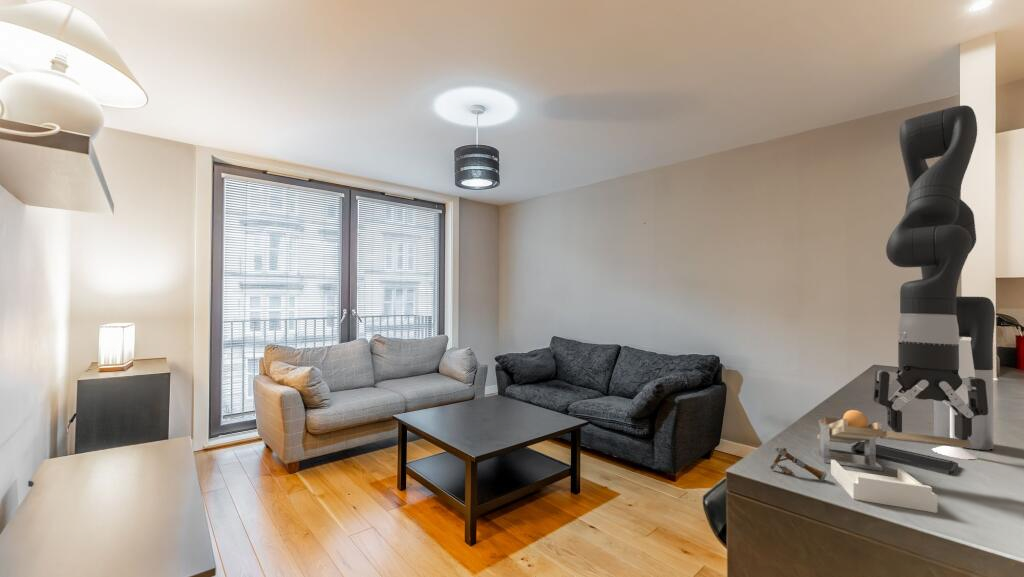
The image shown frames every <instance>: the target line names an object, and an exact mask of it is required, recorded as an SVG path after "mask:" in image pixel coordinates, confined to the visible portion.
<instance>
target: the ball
mask: <svg viewBox="0 0 1024 577" xmlns="http://www.w3.org/2000/svg"><path fill="white" fill-rule="evenodd" d="M842 419H847V422H848V426H853V427H862V428H865V427H866V426H867V425H868V418H867V416H866V414H864V413H863V412H861V411H859V410H856V409H850V410H847V411H846V412H845V413H844V414H843V417H842Z"/></svg>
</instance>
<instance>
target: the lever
mask: <svg viewBox="0 0 1024 577" xmlns="http://www.w3.org/2000/svg"><path fill="white" fill-rule="evenodd" d="M820 423H826V424H827V425H828V426H830V440H829V442H833V443H839V444H840V443H841V444H848V445H851V444H856V443H858V442H865V440H868V439H872V438H879V437H880V439H884V440H892V441H902V442H909V443H917V444H925V445H926V444H927V445H934V446H950V447H959V448H963V449H964V448H965V447H970V446H971V444H970V440H961V439H956V438H947V437H938V436H934V435H927V434H920V433H919V434H918V433H910V432H903V431H902V432H901V433H900V432H895V431H893V430H883V428H882V426H883V425H882V422H878V421H877V422H874V423H870V424H867V425H866V427H865V428H862V427H853V426H848V422H847V419H843V418H836V417H835V418H834V417H828V416H827V417H826V416H825V417H823V418H821V419H819V420H818V428H819V430H818V431H819V432H820ZM817 440H818V441H820V433H819V434H817Z"/></svg>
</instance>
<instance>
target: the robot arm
mask: <svg viewBox="0 0 1024 577" xmlns="http://www.w3.org/2000/svg"><path fill="white" fill-rule="evenodd" d="M899 127H900V128H899V134H898V137H899V138H898V139H899V146H900V151H901V156H902V159H903V165H904V169H905V173H906V177H907V182H908V186H909V191H908V195H907V199H906V206H905V212H904V215H903V216H902V218H901V220H900V221H899V222H898V224H897V225H896V226H895V228H894V229H893V231H892V232H891V234H890V236H889V237H888V240H887V243H886V247H885V253H886V257H887V259H888V260H889V261H890V263H891V264H893V265H894V266H896V267H899V268H920V269H921V279H915V280H910V281H906V282H903V283H902V284H901V286H900V289H899V290H900V291H899V298H900V299H899V303H900V304H899V313H900V314H899V320H898V328H897V329H898V330H897V332H898V333H897V334H898V335H897V338H898V341H897V345H898V346H897V351H898V352H897V353H898V355H897V357H898V358H897V359H898V360H897V362H898V369H897V371H896V372H891V371H886V370H880V369H877V370H876V371H875V374H874V388H873V399H872V400H873V402H874V403H876V404H879V405H881V406H884V407H885V408H886V409H887V413H886V414H887V417H886V418H887V422H886V423H887V426H888V427H889V428H891V431H894V432H900V433H901V432H902V433H903V411H901V409H902V408H903V407H904V406H905V405H906V404H907V403H910V402H911V401H912V400H914V399H917V400H933V436H938V437H947V438H950V407H951V408H952V409H953V410H954V411H955V412H956V413H957V415H954V432H955V437H956V438H958V439H961V440H970V444H971V446H970V447H964V449H965V448H966V449H972V450H973V449H974V450H980V449H981V450H982V451H990V450H989V449H992V450H994V449H995V448H994V443H995V442H994V430H995V429H994V425H995V424H994V423H995V422H994V421H995V420H994V411H995V410H994V409H995V408H994V406H995V405H994V332H995V321H996V320H995V319H996V312H995V311H996V309H995V305H994V303H993V301H992V299H990V298H989V297H986V296H957V291H958V284H959V280H960V278H961V273H962V271H963V269H964V266H965V263H966V262H967V259H968V257H969V254H970V253H971V252H972V250H973V249H974V247H975V245H976V243H977V233H976V232H977V231H976V224H975V223H976V222H975V214H974V212H973V210H972V208H971V207H970V206H969V205H968V204H967V203H966V202H965V201H963V200H962V199H961V189H962V184H963V180H964V177H965V175H966V171H967V170H968V166H969V164H970V161H971V158H972V155H973V152H974V149H975V145H976V143H977V138H978V123H977V116H976V113H975V110H974V109H973V108H972V107H971V106H969V105H957V106H956V105H955V106H952V107H948V108H945V109H941V110H936V111H933V112H929V113H926V114H925V113H924V114H920V115H918V116H914V117H910V118H908V119H905V120H903V122H902V123H901V125H900V126H899ZM934 158H939V159H937V160H936V162H935V163H934V164H932V165H931V166H930V167H929V165H928V163H927V160H929V159H930V160H931V159H934ZM961 338H970V343H971V350H972V357H973V364H974V372H975V377H968V378H960V376H959V374H958V371H959V340H960V339H961ZM894 380H896V381H897V382H898V383H899V385H900V387H899V388H898V389H897V390H896V391H895V392H893V395H892V396H891V397H890V398H889V391H890V390H889V389H890V385H892V384H893V383H894ZM961 385H963V386H964V388H965V389H966V390H968V400H969V403H968V404H966V405H965V402H964V401H963V400H962V399H961V398H960V397H959V396H958V395H957V394H956V392H955V391H956V390H957V389H958V388H959V387H960V386H961ZM943 400H944V401H945V402H946V403H947V404H948V405H949V406H948V405H946V404H945V403H944V402H942V401H943ZM993 448H994V449H993Z"/></svg>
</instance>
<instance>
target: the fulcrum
mask: <svg viewBox="0 0 1024 577" xmlns="http://www.w3.org/2000/svg"><path fill="white" fill-rule="evenodd" d="M819 434H820V440H819V444H820V445H819V449H814V453H815V455H817V456H818V458H819V459H820V460H821V461H822V462H823V463H826V464H831V460H835V461H836V462H837V463H838V464H839V465H840V466H847V467H853V468H860V469H867V470H876V471H881V472H883V470H884V467H883V466H881V465H880V464H879V463H878V462H877V460H876V459H877V458H876V444H877V442H876V440H877V439H876V438H877V437H876V438H872V439H868V440H864V442H865V455H861V454H852V453H844V452H835V451H830V441H829V440H830V426H828V425H827V424H826V423H820V431H819Z"/></svg>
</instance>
